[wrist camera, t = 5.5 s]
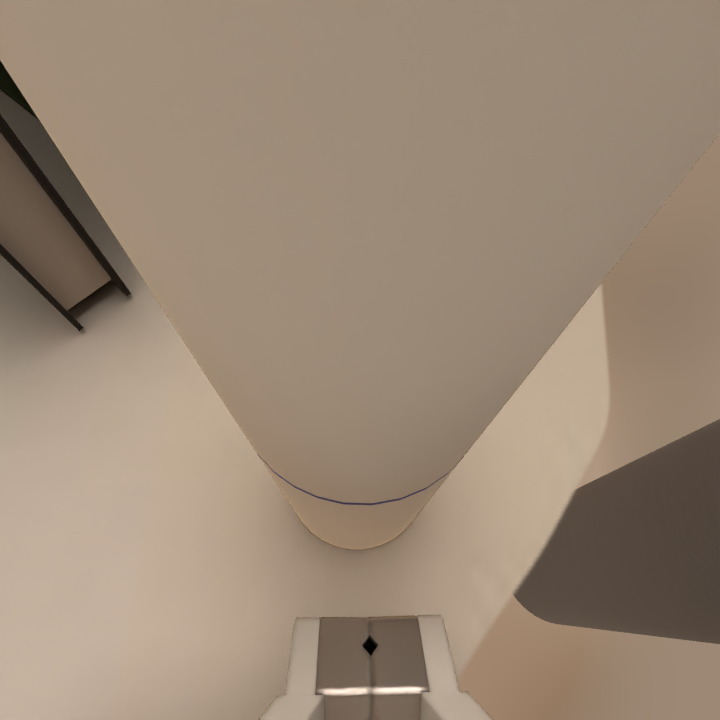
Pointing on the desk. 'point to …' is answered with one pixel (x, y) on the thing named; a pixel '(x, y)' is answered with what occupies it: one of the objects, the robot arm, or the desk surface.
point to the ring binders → (44, 226)
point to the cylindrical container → (370, 201)
